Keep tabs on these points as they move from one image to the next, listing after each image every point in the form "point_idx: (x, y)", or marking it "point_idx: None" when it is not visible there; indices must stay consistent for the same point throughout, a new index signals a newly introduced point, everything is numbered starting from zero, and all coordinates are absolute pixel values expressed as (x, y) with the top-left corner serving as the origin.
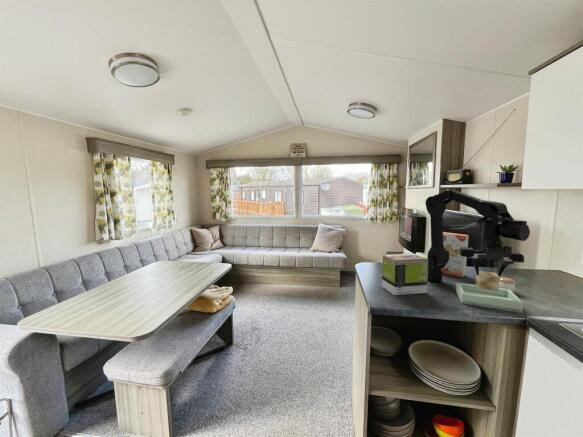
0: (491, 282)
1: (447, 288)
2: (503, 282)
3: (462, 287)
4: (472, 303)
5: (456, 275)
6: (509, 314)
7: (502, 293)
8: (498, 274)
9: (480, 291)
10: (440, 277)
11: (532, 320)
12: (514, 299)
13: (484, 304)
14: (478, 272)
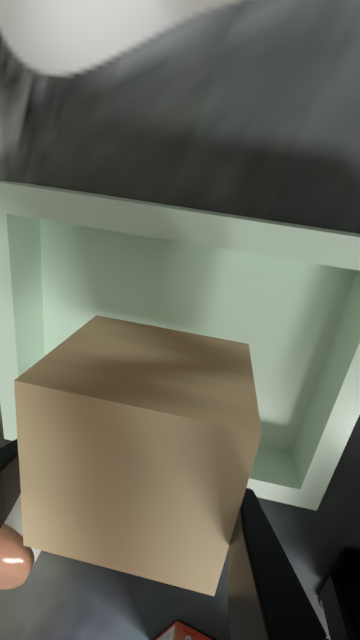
0: (132, 359)
1: (341, 480)
2: (11, 526)
3: (277, 463)
4: (313, 227)
5: (198, 637)
6: (114, 122)
7: None
8: (2, 468)
9: None
10: (350, 597)
11: (4, 61)
12: (19, 286)
13: (236, 215)
14: (247, 519)
